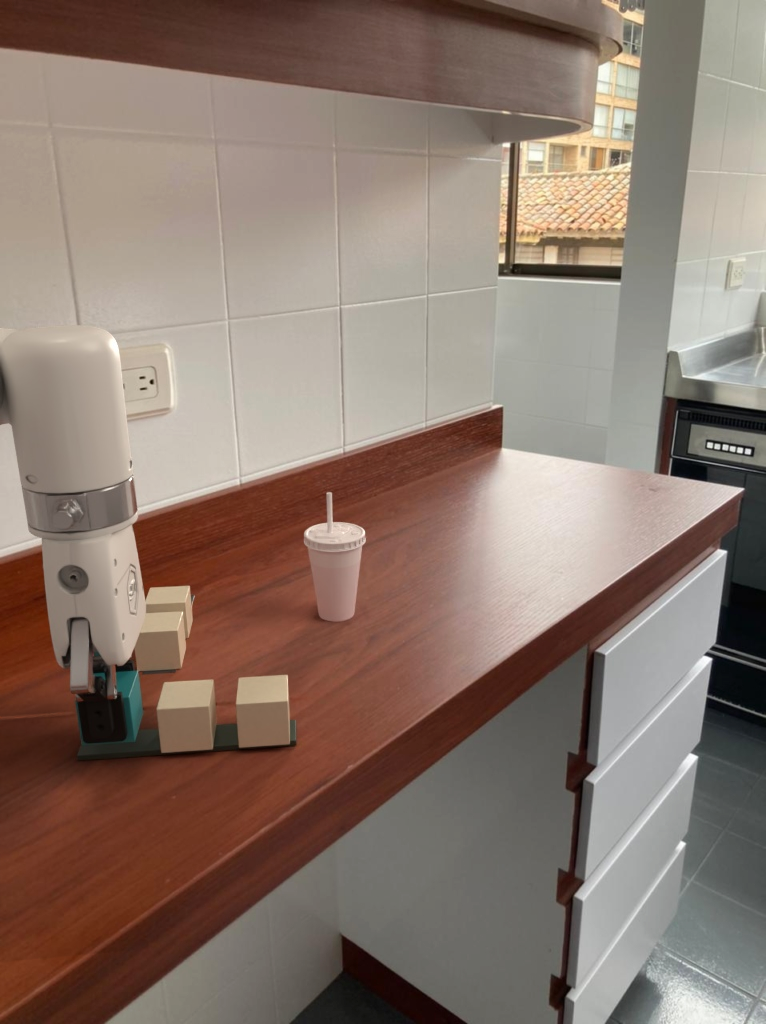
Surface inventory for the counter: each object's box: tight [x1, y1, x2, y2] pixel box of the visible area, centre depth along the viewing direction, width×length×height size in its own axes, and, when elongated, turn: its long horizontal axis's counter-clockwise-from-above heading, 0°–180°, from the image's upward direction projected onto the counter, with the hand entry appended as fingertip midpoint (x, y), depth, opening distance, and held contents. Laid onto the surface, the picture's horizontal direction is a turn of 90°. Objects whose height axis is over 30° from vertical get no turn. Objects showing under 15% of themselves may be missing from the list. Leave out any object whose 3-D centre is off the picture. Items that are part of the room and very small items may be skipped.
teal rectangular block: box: [74, 670, 144, 746], centre depth 64 cm, size 4×4×4 cm
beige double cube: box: [134, 585, 195, 675], centre depth 82 cm, size 4×17×4 cm, turn 6°
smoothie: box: [303, 491, 367, 622], centre depth 85 cm, size 6×6×14 cm
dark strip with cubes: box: [76, 674, 297, 762], centre depth 65 cm, size 17×4×4 cm, turn 96°
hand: (112, 720), depth 64 cm, fingers closed on teal rectangular block, 4 cm apart
